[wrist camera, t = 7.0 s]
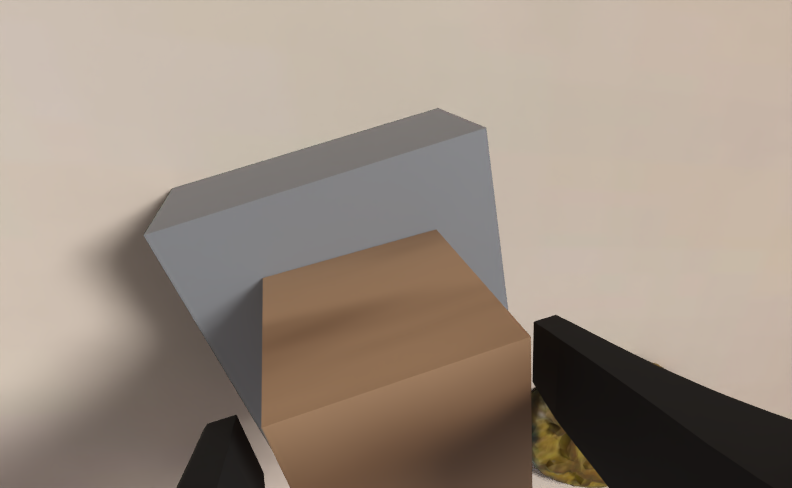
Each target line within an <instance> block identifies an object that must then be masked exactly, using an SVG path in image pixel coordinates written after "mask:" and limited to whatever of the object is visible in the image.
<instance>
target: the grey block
mask: <svg viewBox="0 0 792 488" xmlns="http://www.w3.org/2000/svg"><path fill="white" fill-rule="evenodd" d="M432 230H437V231H438V232H439V233H440V234H441V235H442V236H443V238H444V239H445V240H446V241H447V242H448V243H449V244H450V245H451V247H452V248H453V249H454V250H455V251H456V252H457V253H458V255H459V256H460V257H461V258H462V259H463V260H464V261H465V263H466V264H467V265H468V266H469V267H470V268H471V269H472V271H473V272H474V273H475V274H476V275H477V276H478V277H479V278H480V280H481V281H482V282H483V283H484V284H485V285H486V286H487V288H488V289H489V290H490V291H491V292H492V293H493V294H494V296H495V297H496V298H497V299H498V300H499V301H500V302H501V304H502V305H503V306H504V307H505V308H506V309H507V310H508V305H507V297H506V289H505V280H504V272H503V264H502V255H501V247H500V239H499V230H498V222H497V214H496V206H495V197H494V189H493V181H492V172H491V164H490V156H489V147H488V139H487V131H486V127H483V126H481V125H478V124H476V123H473V122H471V121H468V120H466V119H463V118H461V117H459V116H456V115H454V114H451V113H449V112H446V111H444V110H441V109H439V108H437V109H433V110H430V111H427V112H424V113H420V114H417V115H414V116H410V117H407V118H404V119H400V120H397V121H394V122H390V123H387V124H384V125H381V126H377V127H374V128H371V129H367V130H364V131H361V132H357V133H354V134H351V135H347V136H344V137H341V138H338V139H334V140H331V141H328V142H324V143H321V144H318V145H314V146H311V147H308V148H304V149H301V150H298V151H295V152H291V153H288V154H285V155H281V156H278V157H275V158H271V159H268V160H265V161H261V162H258V163H255V164H252V165H248V166H245V167H242V168H238V169H235V170H232V171H228V172H225V173H222V174H218V175H215V176H212V177H208V178H205V179H202V180H199V181H195V182H192V183H189V184H185V185H182V186H179V187H175V188H172V190H171V191H170V193H169V195H168V196H167V198H166V200H165V201H164V203H163V204H162V206H161V208H160V209H159V211H158V213H157V214H156V216H155V217H154V219H153V221H152V222H151V224H150V226H149V227H148V229H147V230H146V232H145V234H144V237H145V239H146V240H147V242H148V244H149V245H150V247H151V249H152V250H153V252H154V254H155V255H156V257H157V259H158V260H159V262H160V264H161V265H162V267H163V269H164V270H165V272H166V274H167V276H168V277H169V279H170V281H171V282H172V284H173V286H174V287H175V289H176V291H177V292H178V294H179V296H180V297H181V299H182V301H183V302H184V304H185V306H186V307H187V309H188V311H189V312H190V314H191V316H192V317H193V319H194V321H195V322H196V324H197V326H198V327H199V329H200V331H201V332H202V334H203V336H204V337H205V339H206V341H207V342H208V344H209V346H210V347H211V349H212V351H213V352H214V354H215V356H216V357H217V359H218V361H219V362H220V364H221V366H222V367H223V369H224V371H225V372H226V374H227V376H228V377H229V379H230V381H231V382H232V384H233V386H234V387H235V389H236V391H237V392H238V394H239V396H240V397H241V399H242V401H243V402H244V404H245V406H246V407H247V409H248V411H249V412H250V414H251V416H252V417H253V419H254V421H255V422H256V424H257V426H258V427H259V429H260V431H261V432H262V434H263V436H264V437H265V439H266V441H267V442H268V440H267V438H266V436H265V434H264V432H263V430H262V428H261V416H262V309H263V278H265V277H268V276H272V275H275V274H279V273H282V272H286V271H290V270H293V269H297V268H300V267H304V266H307V265H311V264H315V263H318V262H322V261H325V260H329V259H332V258H336V257H339V256H343V255H347V254H350V253H354V252H357V251H361V250H364V249H368V248H372V247H375V246H379V245H382V244H386V243H389V242H393V241H397V240H400V239H404V238H407V237H411V236H414V235H418V234H422V233H425V232H429V231H432ZM268 444H269V443H268ZM269 446H270V445H269Z"/></svg>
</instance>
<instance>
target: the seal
mask: <svg viewBox="0 0 792 488" xmlns="http://www.w3.org/2000/svg"><path fill="white" fill-rule="evenodd" d="M653 364H655V363H653ZM655 365H657V366H659V365H658V364H655ZM659 367H661V366H659ZM662 368H663V367H662ZM531 418H532V463H533V464H534V466H535V467H536V468H537V469H538V470H539V471H540V472H541V473H542V474H544V475H545V476H547V477H550V478H552V479H554V480H556V481H559V482H562V483H566V484H570V485H572V486H580V487H587V488H600V487H608V486H607V485H606V483H605V482H604V481H603V480H602V478H601V477H600V476H599V474H598V473H597V472H596V471H595V469H594V468H593V467H592V466H591V464H590V463H589V462H588V460H587V459H586V458H585V457H584V455H583V454H582V453H581V452H580V450H579V449H578V448H577V446H576V445H575V444H574V443H573V441H572V440H571V439H570V437H569V436H568V435H567V433H566V432H565V431H564V430H563V428H562V427H561V426H560V424H559V423H558V422H557V420H556V419H555V418H554V416H553V414H552V413H551V411H550V410H549V408H548V406H547V405H546V403H545V402H544V400H543V398H542V397H541V395H540V393H539V391H538V390H537V389H536V390H535V391H534V392H532V394H531Z"/></svg>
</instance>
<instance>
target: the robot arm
mask: <svg viewBox="0 0 792 488" xmlns="http://www.w3.org/2000/svg"><path fill="white" fill-rule="evenodd" d="M533 383H534V385H535V386H536V388H537V390H538V391H539V393H540V395H541V397H542V398H543V400H544V402H545V403H546V405H547V406H548V408H549V410H550V411H551V413H552V414H553V416H554V418H555V419H556V420H557V422H558V423H559V424H560V426H561V427H562V428H563V430H564V431H565V432H566V433H567V435H568V436H569V437H570V439H571V440H572V441H573V443H574V444H575V445H576V446H577V448H578V449H579V450H580V452H581V453H582V454H583V455H584V457H585V458H586V459H587V460H588V462H589V463H590V464H591V466H592V467H593V468H594V469H595V471H596V472H597V473H598V474H599V476H600V477H601V478H602V480H603V481H604V482H605V483H606V485H607V486H608V487H609V488H792V420H791V419H788V418H785V417H783V416H780V415H777V414H774V413H771V412H768V411H766V410H763V409H760V408H758V407H755V406H752V405H750V404H747V403H744V402H742V401H739V400H736V399H734V398H731V397H729V396H726V395H724V394H721V393H719V392H716V391H714V390H711V389H709V388H706V387H704V386H702V385H700V384H697V383H695V382H693V381H690V380H688V379H686V378H684V377H681V376H679V375H677V374H675V373H672V372H670V371H668V370H666V369H664V368H662V367H659V366H657V365H655V364H653V363H651V362H649V361H647V360H645V359H643V358H641V357H639V356H636V355H634V354H632V353H630V352H628V351H626V350H624V349H622V348H620V347H618V346H616V345H614V344H612V343H610V342H609V341H607V340H605V339H603V338H601V337H599V336H597V335H595V334H593V333H591V332H589V331H587V330H585V329H583V328H581V327H579V326H577V325H575V324H573V323H571V322H569V321H567V320H565V319H563V318H561V317H559V316H557V315H554V316H551V317H548V318H544V319H541V320H538V321H535V322H534V340H533ZM177 488H265V484H264V473H263V471H262V468H261V466H260V464H259V462H258V460H257V458H256V456H255V454H254V451H253V449H252V447H251V445H250V443H249V441H248V439H247V436H246V434H245V432H244V430H243V428H242V426H241V424H240V422H239V419H238V417H237V415H234V416H231V417H228V418H225V419H221V420H218V421H215V422H212V423H209V424H207V425H206V427H205V428H204V430H203V432H202V434H201V437H200V439H199V441H198V443H197V445H196V447H195V450H194V452H193V454H192V456H191V458H190V460H189V463H188V465H187V467H186V469H185V471H184V473H183V475H182V477H181V479H180V481H179V483H178V486H177Z"/></svg>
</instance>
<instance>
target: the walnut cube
mask: <svg viewBox="0 0 792 488" xmlns="http://www.w3.org/2000/svg"><path fill="white" fill-rule="evenodd" d="M261 428H262V430H263V432H264V434H265V436H266V438H267V440H268V443H269V445H270V447H271V449H272V451H273V453H274V455H275V457H276V459H277V461H278V463H279V465H280V467H281V470H282V472H283V474H284V476H285V478H286V480H287V482H288V484H289V486H290V488H532V418H531V337H530V335H529V334H528V333H527V332H526V331H525V330H524V329H523V327H522V326H521V325H520V324H519V323H518V322H517V321H516V319H515V318H514V317H513V316H512V315H511V314H510V313H509V311H508V310H507V309H506V308H505V307H504V306H503V305H502V304H501V302H500V301H499V300H498V299H497V298H496V297H495V296H494V294H493V293H492V292H491V291H490V290H489V289H488V288H487V286H486V285H485V284H484V283H483V282H482V281H481V280H480V278H479V277H478V276H477V275H476V274H475V273H474V272H473V271H472V269H471V268H470V267H469V266H468V265H467V264H466V263H465V261H464V260H463V259H462V258H461V257H460V256H459V255H458V253H457V252H456V251H455V250H454V249H453V248H452V247H451V245H450V244H449V243H448V242H447V241H446V240H445V239H444V238H443V236H442V235H441V234H440V233H439V232H438V231H437V230H432V231H429V232H425V233H422V234H418V235H414V236H411V237H407V238H404V239H400V240H397V241H393V242H389V243H386V244H382V245H379V246H375V247H372V248H368V249H364V250H361V251H357V252H354V253H350V254H347V255H343V256H339V257H336V258H332V259H329V260H325V261H322V262H318V263H315V264H311V265H307V266H304V267H300V268H297V269H293V270H290V271H286V272H282V273H279V274H275V275H272V276H268V277H265V278H263V309H262V416H261Z"/></svg>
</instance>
